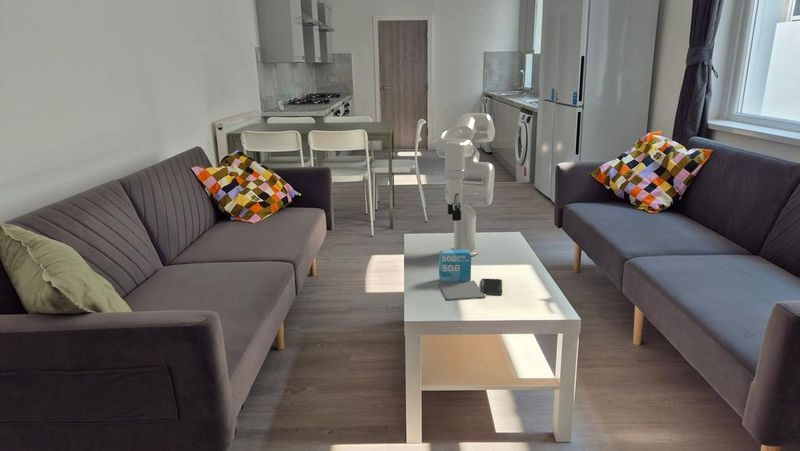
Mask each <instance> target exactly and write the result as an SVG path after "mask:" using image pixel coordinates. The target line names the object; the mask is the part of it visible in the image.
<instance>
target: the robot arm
mask: <svg viewBox="0 0 800 451" xmlns="http://www.w3.org/2000/svg"><path fill="white" fill-rule="evenodd" d="M495 131H496V129H495V125H494V120H493V119H492V116H491V115H490V114H488V113H485V112H467V113H463V114H461V115H460V116H459V117H458V120H457V122H456V125H455V126H453V127H451V128H449V129H447V130H446V129H445V130H444V131H443V132H442V133H441V134H440V135H439V137H438V139H437V142H436V146H435V150H436V154H437V156H438V157H439V158H444V179H446V180H445V201H446V203H448V204H447V215H452V221H454V222H453V223H454V225H453V229H454V230H453V247H451V249H450V250H468V251H469V252H470V254H471V257H474V256H476V255H478V254H479V249H478V248H477V247H476V229H477V227H476V226H477V223H476V222H477V216H476V215H477V214H476V212H475V210H474V209H473V207H472V206H477V207H478V206H479V207H486V206H490V205H492V202H493V197H494V186H495V177H496V176H495V175H496V174H495V173H496V172H495V171H496V170H495V166H494V165H493V164H492V163H491V162H488V161H480V152H479V150H478V149H477V147H476V146H475V145H474V144H473V143H490V142H492V141H493V140H494V138H495V135H496V132H495Z"/></svg>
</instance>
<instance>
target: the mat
mask: <svg viewBox="0 0 800 451" xmlns="http://www.w3.org/2000/svg"><path fill="white" fill-rule="evenodd" d="M437 283H438V286H439V288H440V290H441V292H442V294H443V296H444V298H445V299H447V300H446V301H459V300H460V299H461V301H463V300H472V299H471V298H478V299H486V295H484V294H483V293H481V292H482V291H481V292H480V290H481V287H479V285H478V284H477V283H476V281H475V280H470V281H462V282H444V283H443V282H437Z"/></svg>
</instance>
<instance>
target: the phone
mask: <svg viewBox="0 0 800 451" xmlns="http://www.w3.org/2000/svg"><path fill="white" fill-rule="evenodd" d="M480 282H481V283H480V292H481V291H482V292H481V293H483V294H486V295H485V296H503V280H502V279H501V278H482V279H481V280H480Z"/></svg>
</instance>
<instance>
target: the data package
mask: <svg viewBox="0 0 800 451" xmlns="http://www.w3.org/2000/svg"><path fill="white" fill-rule="evenodd" d="M438 278H439V281H440V283H444V282H462V281H472V280H471V279H472V256H471V254H470V252H469V251H468V250H451V249H442V250H440V251H439V253H438Z"/></svg>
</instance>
